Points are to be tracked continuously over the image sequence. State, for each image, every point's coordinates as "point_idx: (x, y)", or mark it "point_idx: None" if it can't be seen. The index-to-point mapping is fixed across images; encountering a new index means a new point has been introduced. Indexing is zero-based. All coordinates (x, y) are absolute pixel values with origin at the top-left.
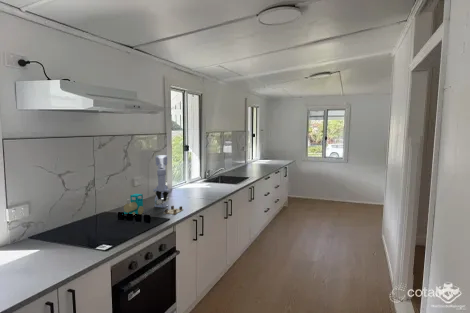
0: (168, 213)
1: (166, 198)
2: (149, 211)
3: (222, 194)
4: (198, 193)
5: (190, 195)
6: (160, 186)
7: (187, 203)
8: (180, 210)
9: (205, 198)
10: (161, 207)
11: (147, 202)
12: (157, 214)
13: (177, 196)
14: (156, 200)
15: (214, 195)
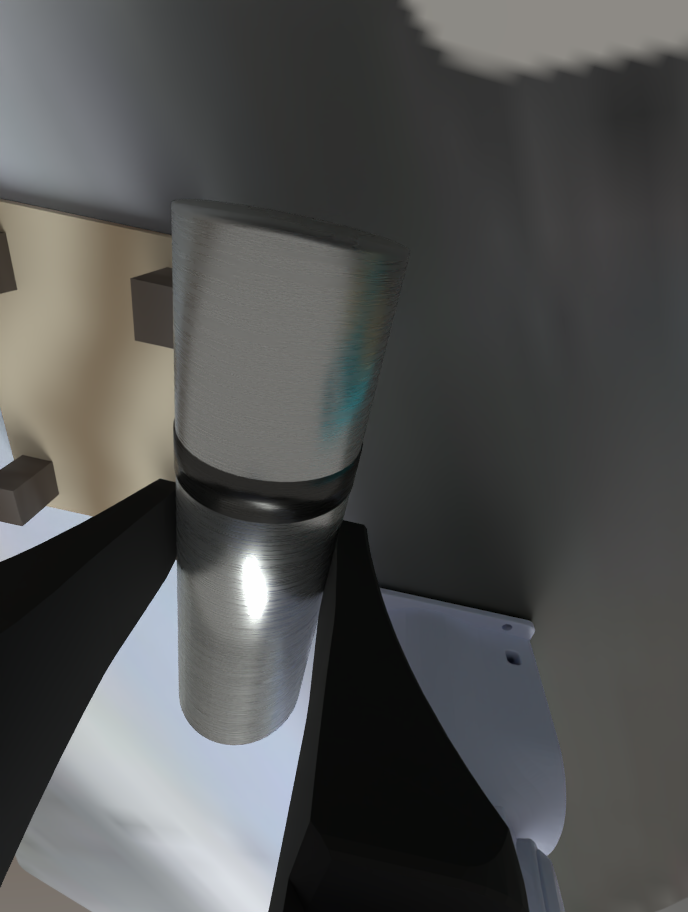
0: (109, 224)
1: (179, 650)
2: (577, 380)
3: (48, 869)
4: (236, 907)
5: (273, 885)
6: None
7: (165, 723)
8: (13, 428)
9: (100, 819)
10: (409, 594)
11: (669, 786)
12: (328, 137)
13: None
14: (318, 245)
15: (86, 862)
